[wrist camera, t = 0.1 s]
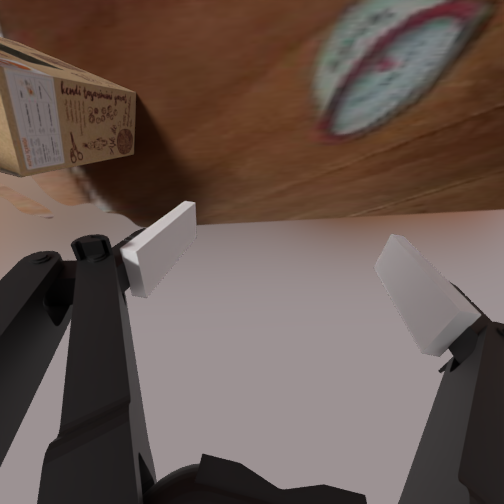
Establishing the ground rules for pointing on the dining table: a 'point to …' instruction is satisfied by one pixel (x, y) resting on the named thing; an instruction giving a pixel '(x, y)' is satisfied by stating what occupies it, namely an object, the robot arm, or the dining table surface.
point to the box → (58, 114)
